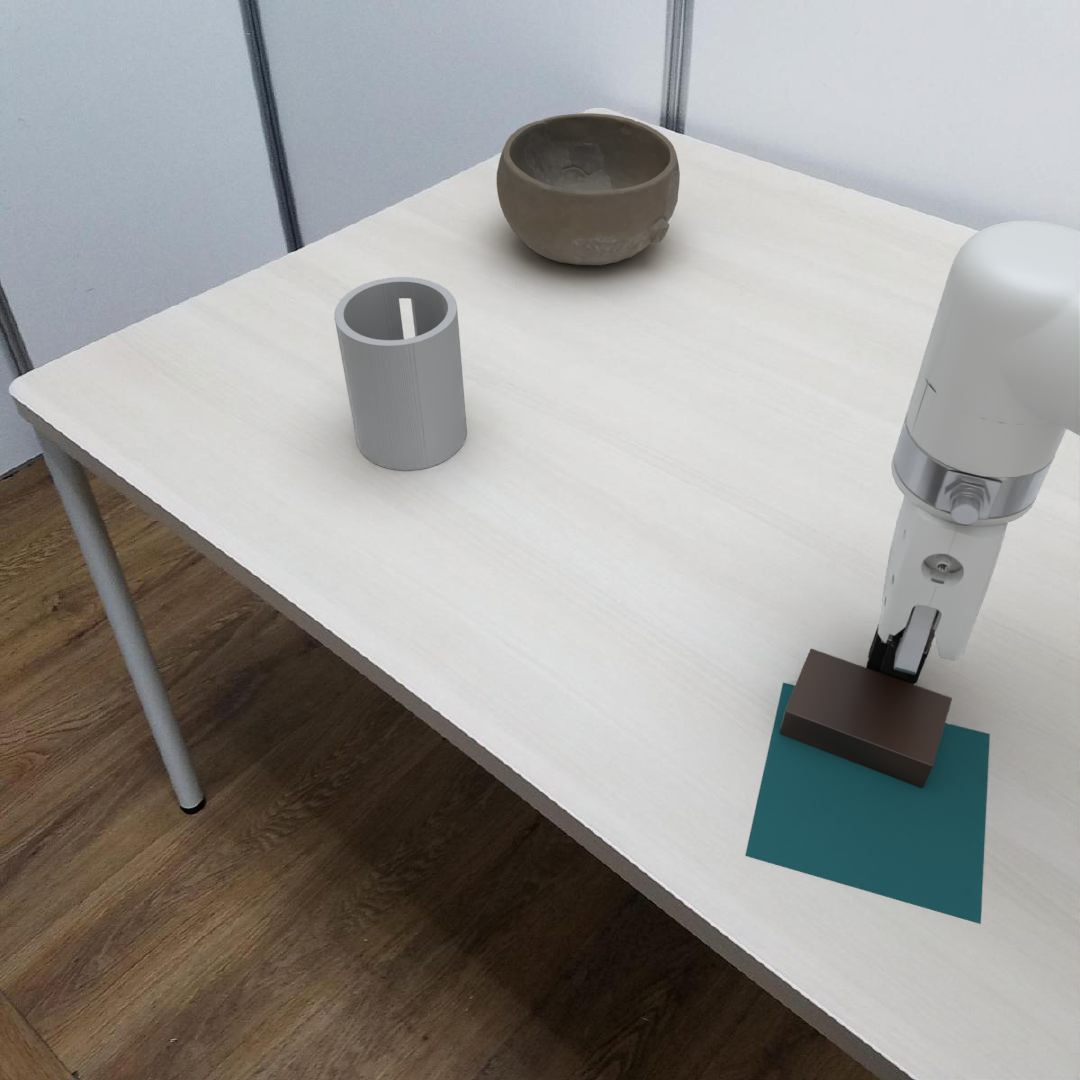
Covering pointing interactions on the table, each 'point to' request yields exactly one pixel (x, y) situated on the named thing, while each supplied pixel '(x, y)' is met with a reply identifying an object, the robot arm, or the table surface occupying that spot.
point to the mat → (878, 820)
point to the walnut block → (866, 717)
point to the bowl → (588, 187)
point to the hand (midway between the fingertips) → (891, 669)
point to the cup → (403, 372)
